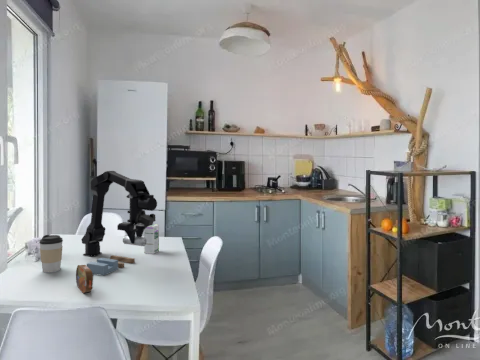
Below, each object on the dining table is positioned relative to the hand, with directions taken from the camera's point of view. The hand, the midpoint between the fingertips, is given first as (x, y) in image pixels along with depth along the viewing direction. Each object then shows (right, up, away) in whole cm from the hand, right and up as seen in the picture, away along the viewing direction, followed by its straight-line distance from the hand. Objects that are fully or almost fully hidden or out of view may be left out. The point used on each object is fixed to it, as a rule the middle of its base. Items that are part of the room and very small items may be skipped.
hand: (136, 242), depth 155 cm
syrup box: (+1, -10, +24) cm, 26 cm away
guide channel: (-10, -11, +4) cm, 15 cm away
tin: (-12, -13, -26) cm, 31 cm away
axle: (-1, +1, 0) cm, 1 cm away
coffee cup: (-35, -11, -6) cm, 37 cm away
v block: (-13, -11, -6) cm, 18 cm away
